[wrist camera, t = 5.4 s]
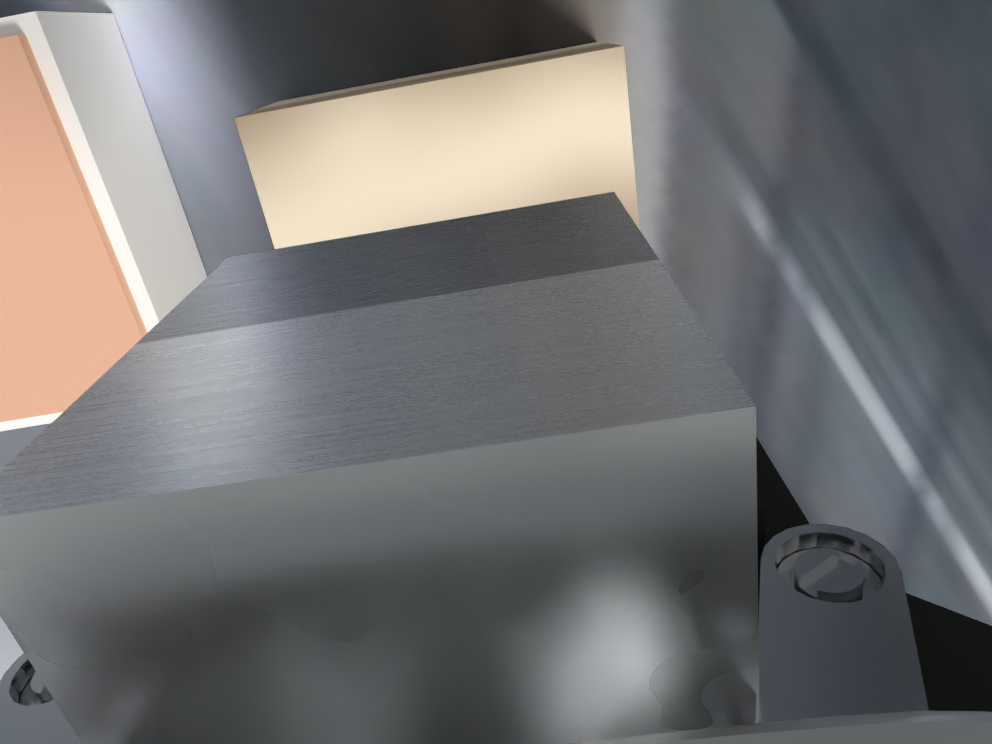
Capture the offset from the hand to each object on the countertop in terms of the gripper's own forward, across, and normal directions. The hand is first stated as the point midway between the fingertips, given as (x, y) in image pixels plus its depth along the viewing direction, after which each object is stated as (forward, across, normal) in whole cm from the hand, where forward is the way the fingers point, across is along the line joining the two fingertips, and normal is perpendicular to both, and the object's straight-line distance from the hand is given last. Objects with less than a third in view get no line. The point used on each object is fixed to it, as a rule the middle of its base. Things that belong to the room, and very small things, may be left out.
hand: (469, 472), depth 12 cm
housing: (0, 0, 0) cm, 0 cm away
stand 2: (+17, +1, +1) cm, 17 cm away
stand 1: (+17, +17, -2) cm, 24 cm away
